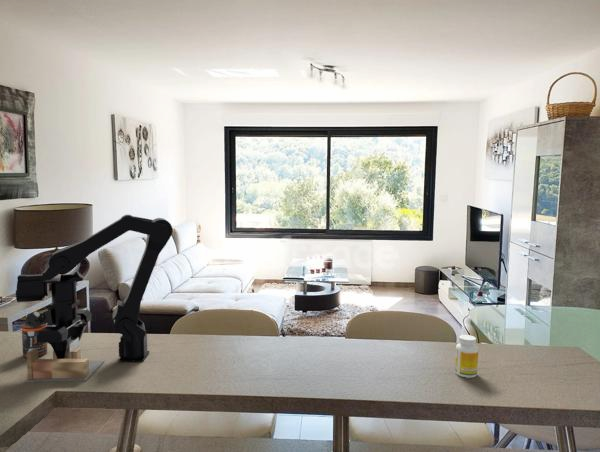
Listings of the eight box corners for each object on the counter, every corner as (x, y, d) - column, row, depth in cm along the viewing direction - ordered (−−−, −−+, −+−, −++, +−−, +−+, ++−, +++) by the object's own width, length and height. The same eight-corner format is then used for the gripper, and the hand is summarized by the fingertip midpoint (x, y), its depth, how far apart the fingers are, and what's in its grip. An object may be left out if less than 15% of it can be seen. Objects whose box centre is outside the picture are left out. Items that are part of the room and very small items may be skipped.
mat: (104, 362, 123) (104, 360, 122) (86, 381, 111) (86, 379, 111) (50, 362, 122) (50, 361, 122) (26, 381, 110) (26, 380, 110)
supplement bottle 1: (36, 359, 124) (34, 318, 123) (17, 357, 125) (15, 317, 124) (52, 351, 130) (50, 312, 129) (34, 349, 131) (32, 311, 130)
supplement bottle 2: (450, 371, 118) (451, 335, 117) (465, 368, 120) (467, 332, 119) (466, 380, 113) (467, 342, 112) (481, 376, 116) (483, 339, 115)
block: (100, 362, 121) (99, 338, 120) (85, 378, 112) (83, 352, 111) (47, 363, 120) (46, 339, 120) (27, 379, 111) (26, 353, 110)
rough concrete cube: (79, 354, 122) (78, 337, 122) (70, 362, 117) (69, 344, 116) (64, 354, 122) (63, 337, 122) (54, 362, 117) (53, 344, 116)
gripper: (50, 290, 127) (52, 344, 128) (11, 309, 108) (14, 372, 110) (91, 289, 127) (93, 344, 129) (59, 308, 109) (62, 372, 110)
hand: (67, 357), depth 119 cm, fingers open, 6 cm apart
